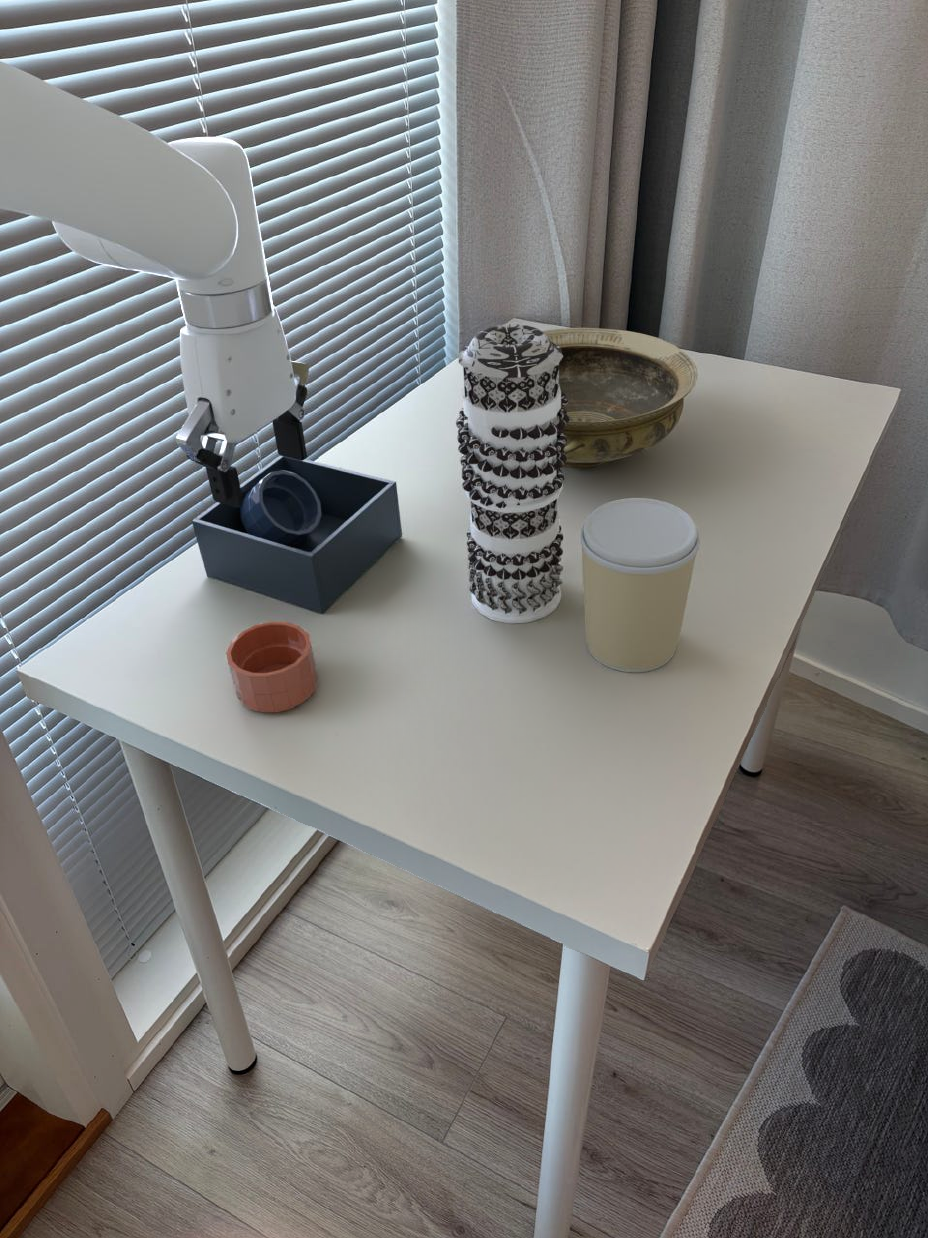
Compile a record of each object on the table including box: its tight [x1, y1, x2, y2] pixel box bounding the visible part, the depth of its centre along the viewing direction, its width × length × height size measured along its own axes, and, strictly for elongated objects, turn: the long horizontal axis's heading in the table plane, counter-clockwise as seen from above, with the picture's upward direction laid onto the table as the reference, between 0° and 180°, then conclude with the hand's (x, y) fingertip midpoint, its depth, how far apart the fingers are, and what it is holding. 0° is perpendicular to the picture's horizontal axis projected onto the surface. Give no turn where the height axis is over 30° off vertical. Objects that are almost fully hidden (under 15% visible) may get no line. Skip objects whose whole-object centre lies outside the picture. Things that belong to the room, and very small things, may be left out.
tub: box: [191, 455, 403, 615], centre depth 93 cm, size 14×14×6 cm
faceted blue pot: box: [240, 470, 322, 547], centre depth 94 cm, size 7×7×4 cm
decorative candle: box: [455, 323, 569, 624], centre depth 80 cm, size 9×9×25 cm
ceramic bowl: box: [541, 327, 698, 468], centre depth 106 cm, size 30×24×10 cm
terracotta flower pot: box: [225, 621, 319, 714], centre depth 79 cm, size 7×7×4 cm
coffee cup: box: [579, 497, 701, 673], centre depth 78 cm, size 9×9×12 cm
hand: (262, 479), depth 91 cm, fingers open, 9 cm apart
